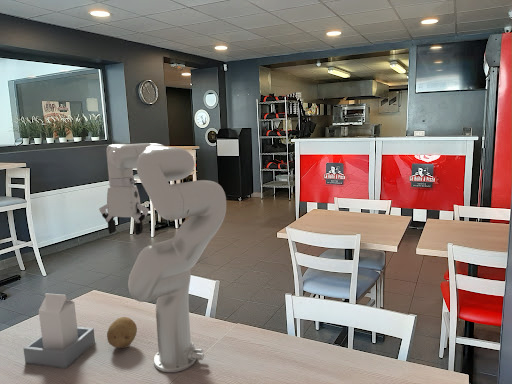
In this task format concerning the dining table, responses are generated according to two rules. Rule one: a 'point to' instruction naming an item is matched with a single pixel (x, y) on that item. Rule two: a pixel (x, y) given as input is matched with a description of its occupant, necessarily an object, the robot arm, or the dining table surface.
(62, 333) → the milk carton
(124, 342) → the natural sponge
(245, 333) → the dining table surface
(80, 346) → the box
